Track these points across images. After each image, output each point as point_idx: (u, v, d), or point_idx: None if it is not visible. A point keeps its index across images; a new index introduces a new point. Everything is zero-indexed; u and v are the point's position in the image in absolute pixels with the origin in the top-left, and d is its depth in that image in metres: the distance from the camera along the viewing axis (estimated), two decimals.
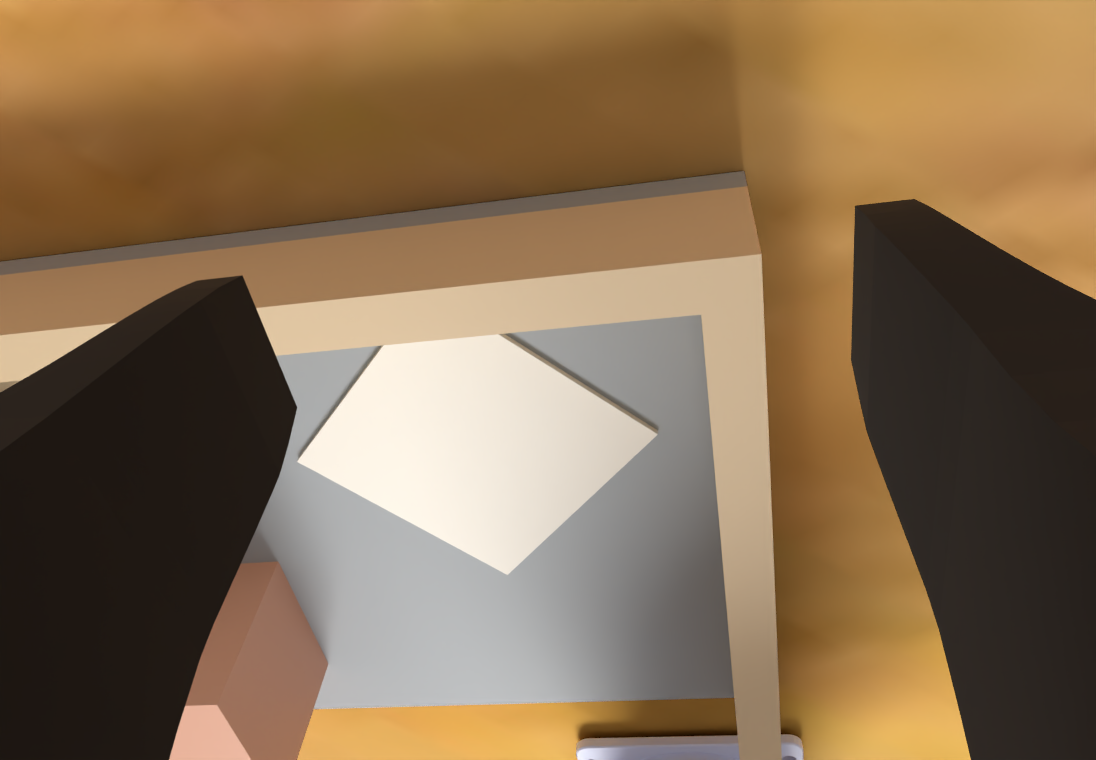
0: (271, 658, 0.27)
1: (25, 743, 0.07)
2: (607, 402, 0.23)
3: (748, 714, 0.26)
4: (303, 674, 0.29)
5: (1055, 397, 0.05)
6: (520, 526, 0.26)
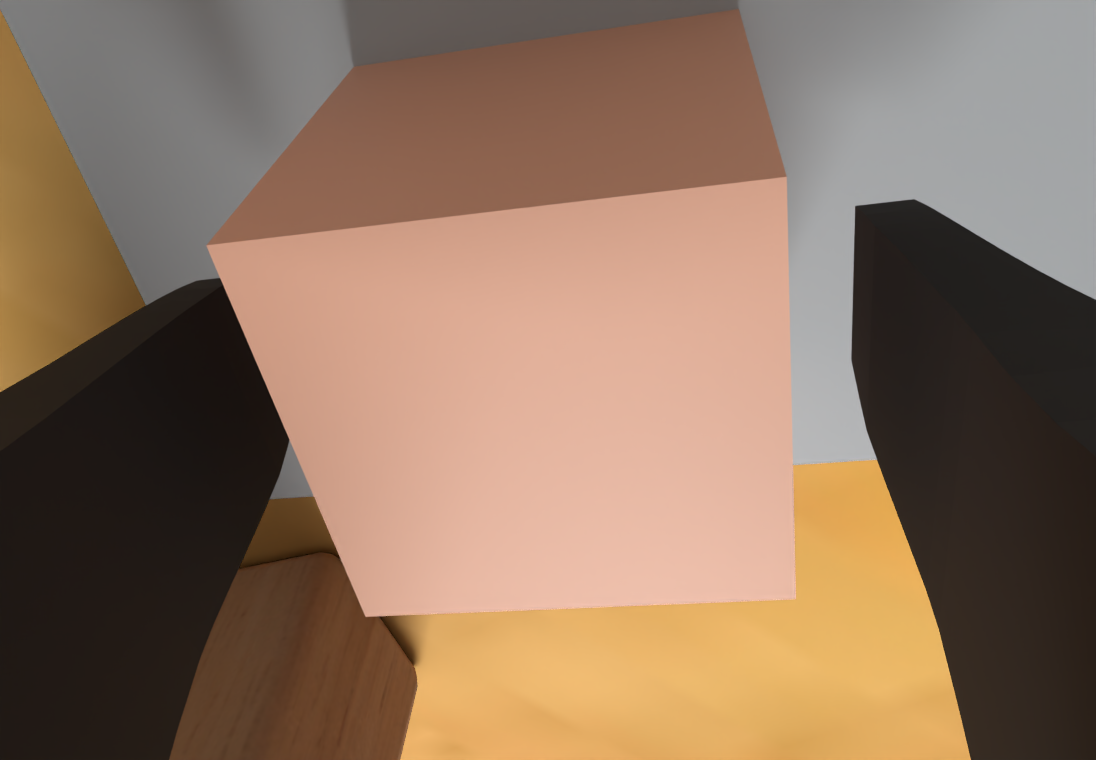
0: None
1: (25, 743, 0.07)
2: None
3: None
4: None
5: (1055, 397, 0.05)
6: None
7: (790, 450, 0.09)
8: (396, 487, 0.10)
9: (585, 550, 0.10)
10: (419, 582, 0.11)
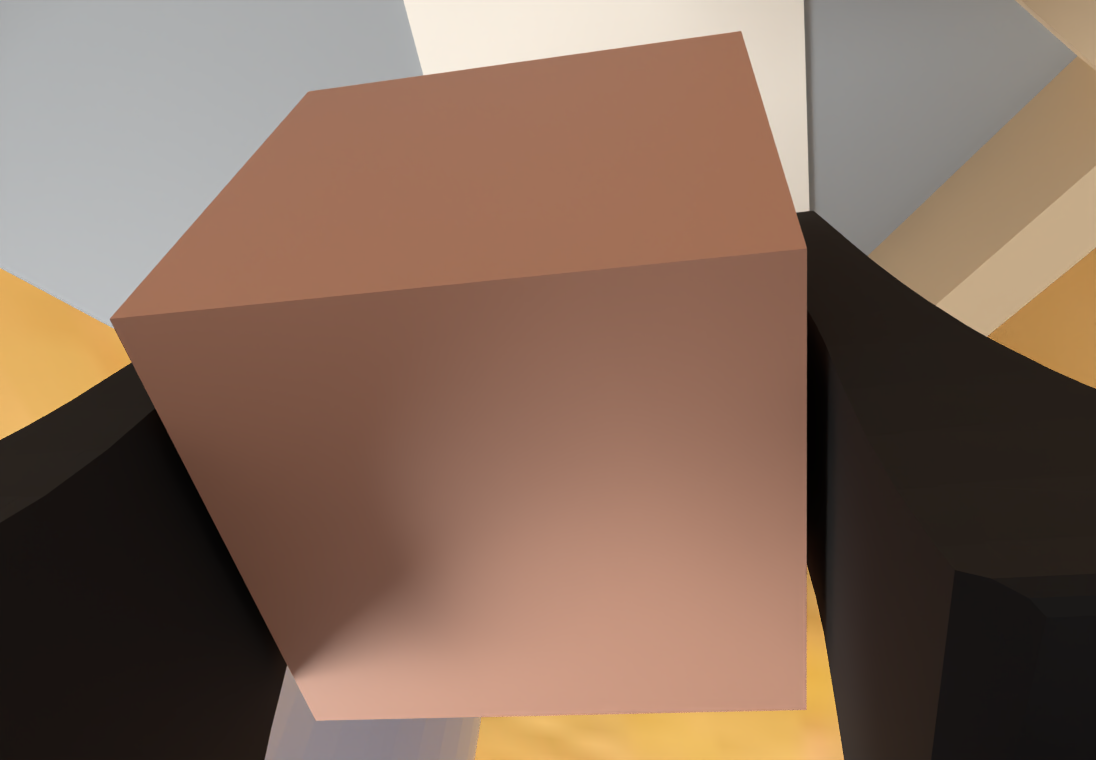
0: None
1: (142, 740, 0.07)
2: (807, 158, 0.18)
3: None
4: None
5: (876, 411, 0.06)
6: None
7: (804, 553, 0.08)
8: (347, 586, 0.08)
9: (566, 655, 0.09)
10: (376, 687, 0.09)
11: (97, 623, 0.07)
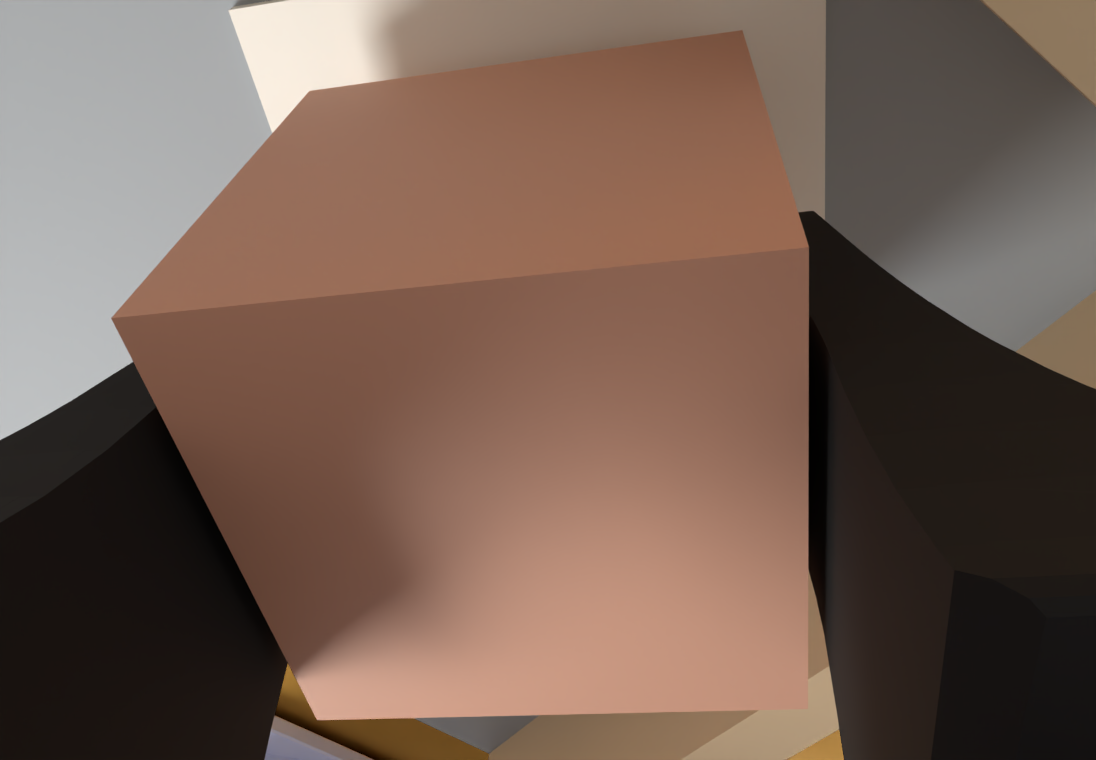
0: None
1: (142, 740, 0.07)
2: None
3: None
4: None
5: (876, 411, 0.06)
6: None
7: (805, 552, 0.08)
8: (348, 586, 0.08)
9: (567, 655, 0.09)
10: (377, 686, 0.09)
11: (98, 622, 0.07)
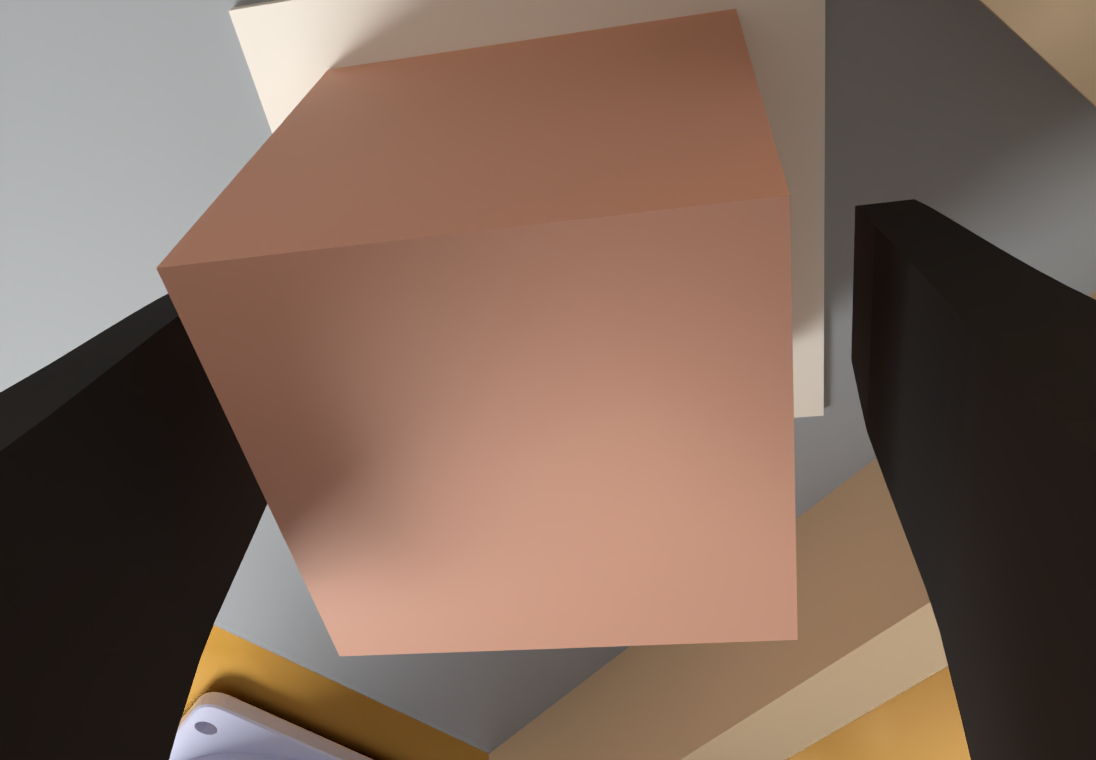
0: None
1: (25, 743, 0.07)
2: (823, 325, 0.13)
3: None
4: None
5: (1055, 397, 0.05)
6: None
7: (792, 486, 0.08)
8: (369, 524, 0.09)
9: (573, 589, 0.09)
10: (396, 622, 0.10)
11: None
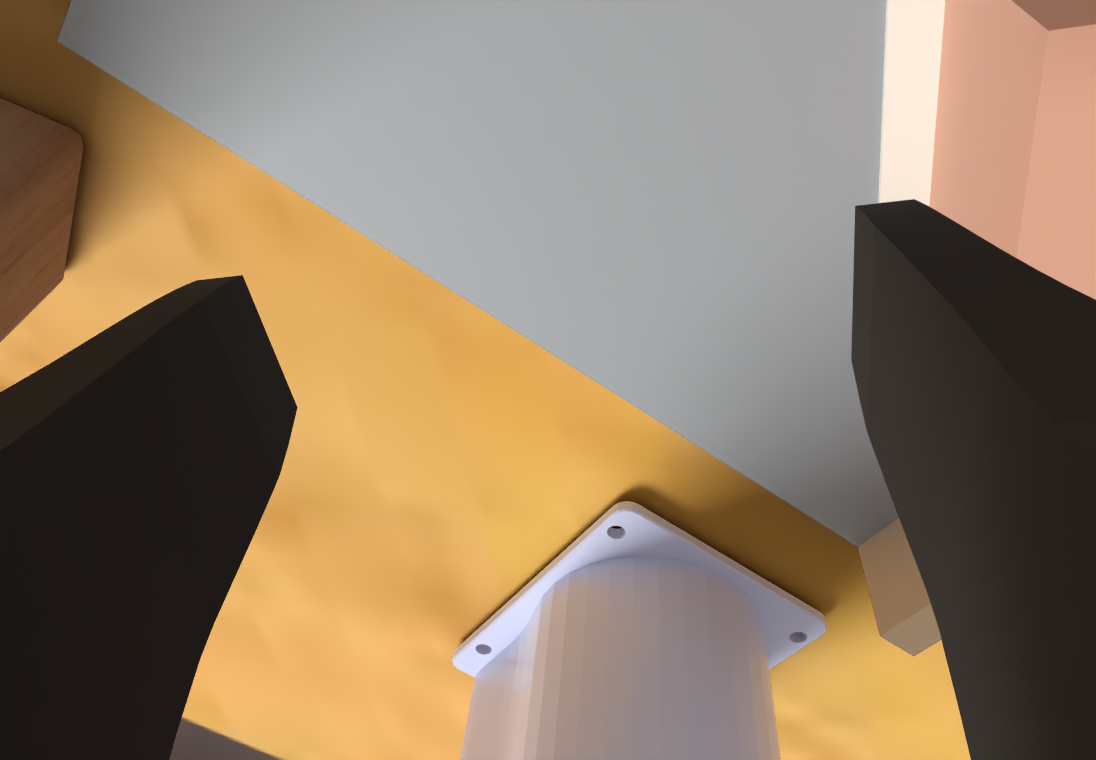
0: None
1: (25, 743, 0.07)
2: None
3: None
4: None
5: (1055, 397, 0.05)
6: None
7: None
8: (1086, 223, 0.14)
9: None
10: None
11: None
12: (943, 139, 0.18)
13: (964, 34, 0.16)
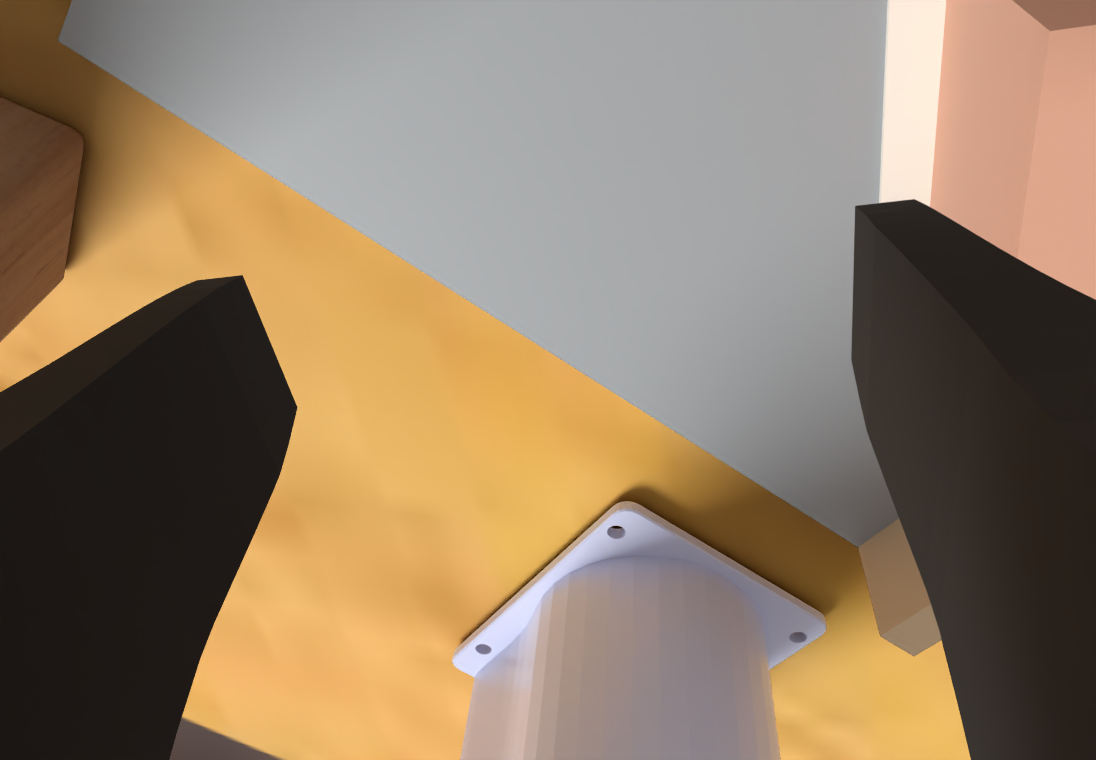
0: None
1: (25, 743, 0.07)
2: None
3: None
4: None
5: (1055, 397, 0.05)
6: None
7: None
8: (1088, 224, 0.14)
9: None
10: None
11: None
12: (944, 139, 0.18)
13: (966, 34, 0.16)
